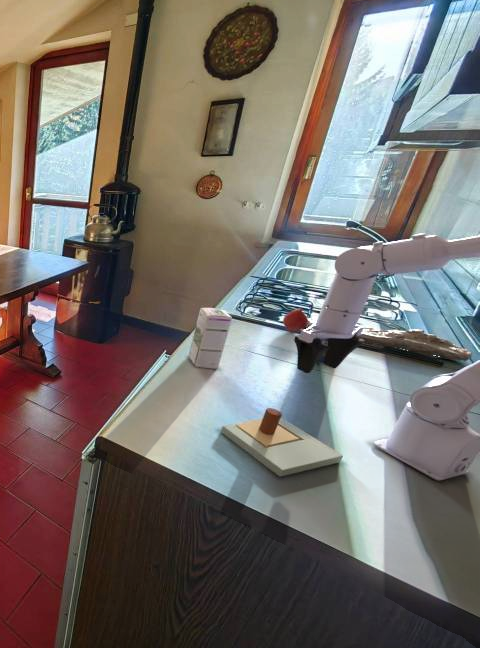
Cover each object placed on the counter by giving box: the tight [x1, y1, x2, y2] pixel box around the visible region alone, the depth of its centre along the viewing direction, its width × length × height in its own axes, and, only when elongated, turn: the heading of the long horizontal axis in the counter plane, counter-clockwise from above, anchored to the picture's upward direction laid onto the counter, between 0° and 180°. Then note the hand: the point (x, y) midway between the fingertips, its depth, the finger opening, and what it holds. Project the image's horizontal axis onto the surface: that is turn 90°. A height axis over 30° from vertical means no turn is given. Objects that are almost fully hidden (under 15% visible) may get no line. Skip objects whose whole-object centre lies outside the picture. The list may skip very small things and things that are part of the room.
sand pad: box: [234, 407, 299, 448], centre depth 74 cm, size 6×8×6 cm
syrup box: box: [187, 307, 233, 370], centre depth 100 cm, size 6×6×14 cm
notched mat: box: [220, 417, 344, 478], centre depth 72 cm, size 12×14×2 cm
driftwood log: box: [305, 316, 473, 362], centre depth 115 cm, size 35×5×10 cm
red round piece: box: [282, 307, 308, 333], centre depth 120 cm, size 6×6×8 cm
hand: (316, 368), depth 81 cm, fingers open, 7 cm apart
